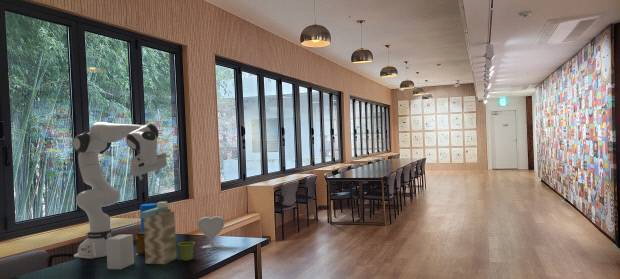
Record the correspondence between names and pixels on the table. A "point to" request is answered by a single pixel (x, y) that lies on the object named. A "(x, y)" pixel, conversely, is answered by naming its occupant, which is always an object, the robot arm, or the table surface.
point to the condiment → (140, 243)
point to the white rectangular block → (120, 251)
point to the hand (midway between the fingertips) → (149, 176)
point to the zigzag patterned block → (160, 238)
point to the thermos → (145, 208)
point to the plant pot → (186, 250)
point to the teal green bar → (154, 210)
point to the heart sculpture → (211, 228)
